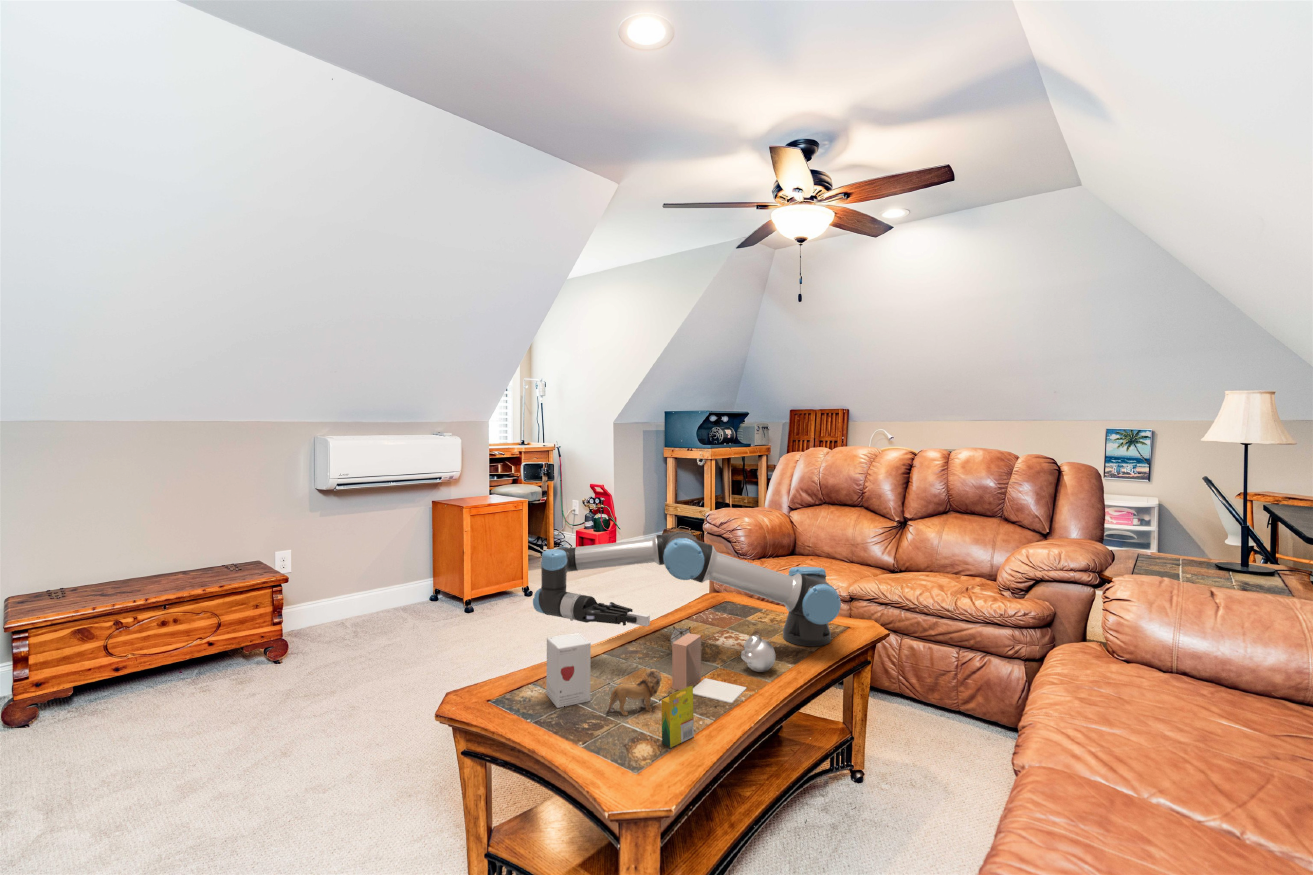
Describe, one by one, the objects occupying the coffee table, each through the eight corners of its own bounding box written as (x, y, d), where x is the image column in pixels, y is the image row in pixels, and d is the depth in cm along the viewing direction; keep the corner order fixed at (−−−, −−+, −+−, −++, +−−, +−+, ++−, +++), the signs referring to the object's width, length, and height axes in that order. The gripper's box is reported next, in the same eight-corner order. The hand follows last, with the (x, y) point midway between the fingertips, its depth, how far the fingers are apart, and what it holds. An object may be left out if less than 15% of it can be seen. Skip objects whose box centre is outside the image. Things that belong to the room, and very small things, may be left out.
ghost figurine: (744, 662, 180) (744, 628, 180) (777, 666, 177) (777, 632, 177) (738, 674, 172) (738, 638, 171) (772, 679, 168) (772, 642, 168)
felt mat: (746, 688, 162) (746, 687, 162) (731, 703, 154) (731, 702, 154) (705, 679, 168) (705, 677, 168) (688, 692, 160) (688, 691, 160)
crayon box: (685, 732, 140) (685, 680, 139) (694, 737, 137) (694, 685, 137) (660, 743, 135) (660, 690, 135) (669, 748, 133) (669, 694, 132)
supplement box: (556, 709, 151) (556, 648, 151) (545, 694, 159) (545, 636, 159) (591, 701, 155) (591, 642, 155) (579, 687, 163) (578, 631, 163)
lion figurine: (655, 699, 156) (655, 664, 156) (665, 708, 151) (665, 671, 151) (601, 712, 149) (601, 675, 149) (610, 721, 145) (609, 683, 144)
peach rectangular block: (701, 679, 169) (701, 635, 168) (685, 691, 161) (685, 645, 160) (687, 676, 171) (687, 632, 170) (672, 688, 163) (672, 643, 162)
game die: (685, 664, 189) (703, 635, 191) (684, 664, 181) (702, 634, 183) (661, 646, 191) (679, 618, 193) (658, 646, 183) (677, 616, 185)
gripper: (592, 614, 188) (659, 627, 177) (565, 626, 177) (635, 641, 165) (592, 589, 188) (660, 601, 177) (565, 600, 177) (636, 613, 165)
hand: (648, 620), depth 171 cm, fingers closed
